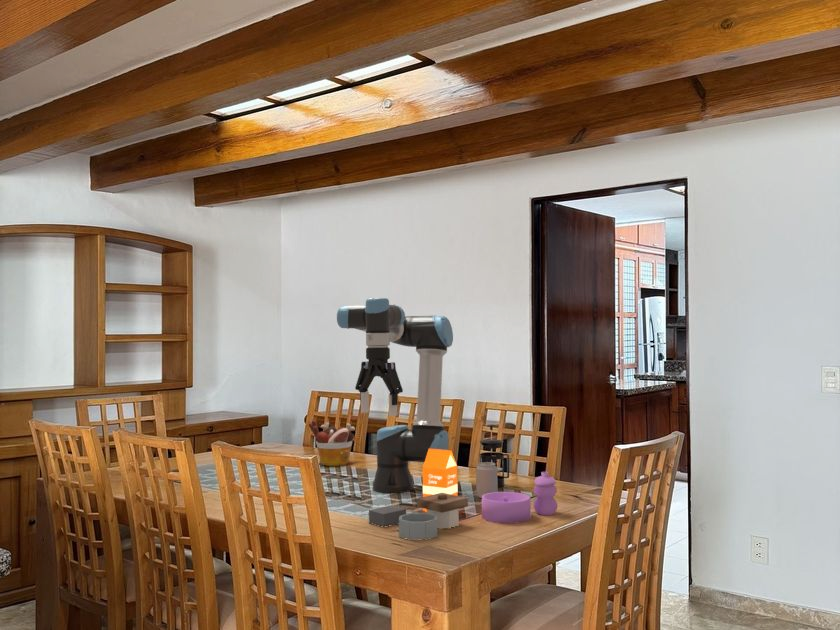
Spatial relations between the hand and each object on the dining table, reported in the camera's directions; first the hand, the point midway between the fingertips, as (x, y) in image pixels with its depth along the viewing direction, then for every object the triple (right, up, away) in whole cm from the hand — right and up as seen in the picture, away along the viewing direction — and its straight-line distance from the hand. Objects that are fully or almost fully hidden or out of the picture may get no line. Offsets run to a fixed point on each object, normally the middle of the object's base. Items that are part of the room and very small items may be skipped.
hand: (378, 414), depth 245 cm
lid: (+20, -27, -9) cm, 35 cm away
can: (+37, -33, +27) cm, 56 cm away
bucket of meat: (-25, -35, +96) cm, 106 cm away
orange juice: (+20, -33, +8) cm, 39 cm away
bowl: (+20, -32, -9) cm, 39 cm away
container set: (+45, -33, 0) cm, 55 cm away
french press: (+41, -33, +46) cm, 70 cm away
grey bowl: (+13, -32, -21) cm, 40 cm away
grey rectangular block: (+3, -33, -6) cm, 33 cm away
